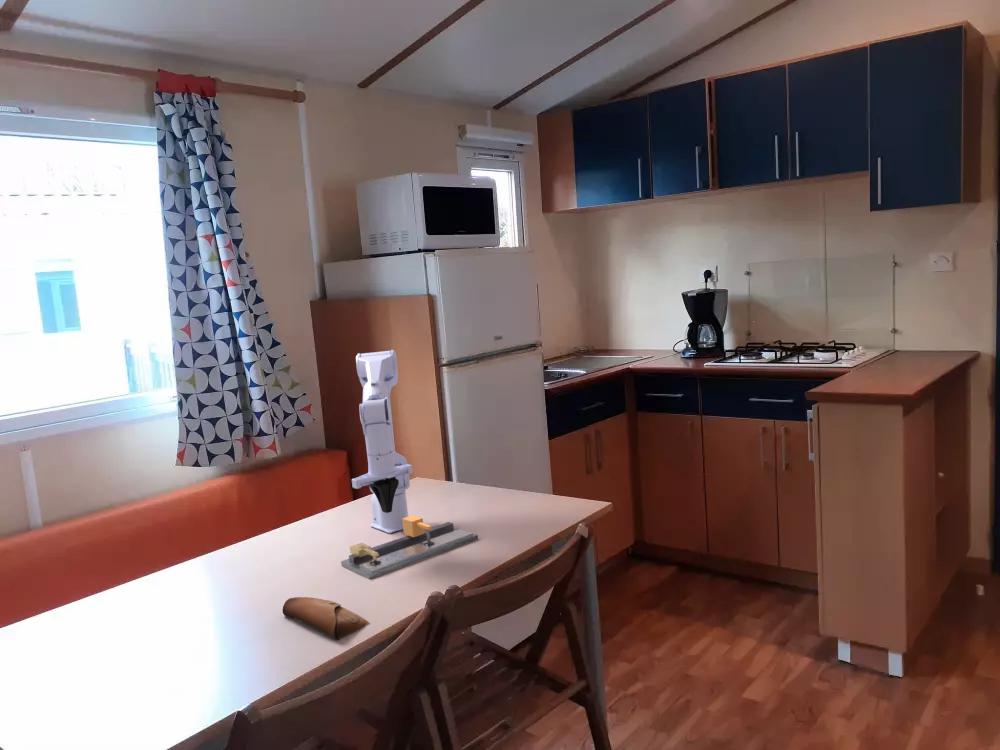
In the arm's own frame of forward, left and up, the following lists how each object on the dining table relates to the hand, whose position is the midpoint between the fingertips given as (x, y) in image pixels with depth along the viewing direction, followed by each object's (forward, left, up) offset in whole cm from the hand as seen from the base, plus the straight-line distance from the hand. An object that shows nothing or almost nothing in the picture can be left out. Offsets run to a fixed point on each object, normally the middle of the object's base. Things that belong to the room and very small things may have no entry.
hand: (387, 511), depth 179 cm
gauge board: (+3, +3, -10) cm, 11 cm away
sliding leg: (+2, +6, -8) cm, 10 cm away
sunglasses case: (+20, -27, -11) cm, 35 cm away
